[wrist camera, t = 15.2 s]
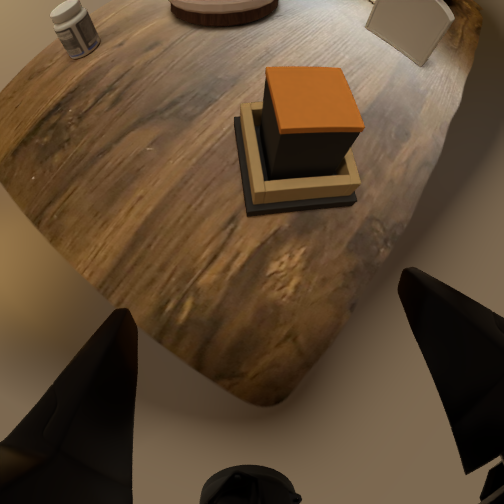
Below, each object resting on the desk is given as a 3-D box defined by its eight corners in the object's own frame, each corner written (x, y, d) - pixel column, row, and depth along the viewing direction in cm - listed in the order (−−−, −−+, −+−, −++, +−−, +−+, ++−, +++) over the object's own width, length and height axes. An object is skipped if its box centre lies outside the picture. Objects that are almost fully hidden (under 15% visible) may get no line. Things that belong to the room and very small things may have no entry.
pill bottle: (95, 33, 28) (77, -8, 20) (104, 44, 27) (85, -1, 19) (66, 51, 27) (45, 12, 19) (73, 64, 27) (49, 22, 19)
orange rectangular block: (329, 180, 23) (365, 127, 15) (268, 186, 23) (280, 128, 15) (316, 129, 24) (341, 67, 16) (258, 132, 24) (265, 66, 16)
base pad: (352, 205, 24) (369, 189, 20) (247, 216, 24) (248, 200, 20) (328, 119, 26) (338, 95, 22) (234, 124, 25) (233, 99, 22)
